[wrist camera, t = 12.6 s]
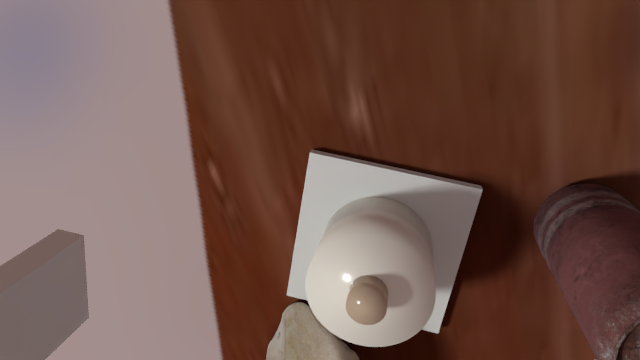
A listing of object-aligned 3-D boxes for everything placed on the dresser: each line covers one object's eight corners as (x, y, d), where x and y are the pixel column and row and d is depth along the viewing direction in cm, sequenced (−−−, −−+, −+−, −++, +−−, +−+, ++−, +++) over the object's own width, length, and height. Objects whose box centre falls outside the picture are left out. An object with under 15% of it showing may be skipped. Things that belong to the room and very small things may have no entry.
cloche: (333, 185, 34) (310, 231, 27) (445, 211, 33) (452, 265, 26) (315, 280, 37) (290, 344, 30) (418, 306, 36) (417, 379, 29)
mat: (312, 149, 34) (309, 152, 33) (481, 185, 33) (482, 189, 32) (289, 289, 38) (286, 295, 38) (437, 327, 37) (438, 333, 36)
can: (652, 231, 31) (818, 385, 18) (562, 277, 34) (653, 443, 21) (603, 160, 31) (741, 268, 18) (514, 212, 33) (578, 342, 20)
